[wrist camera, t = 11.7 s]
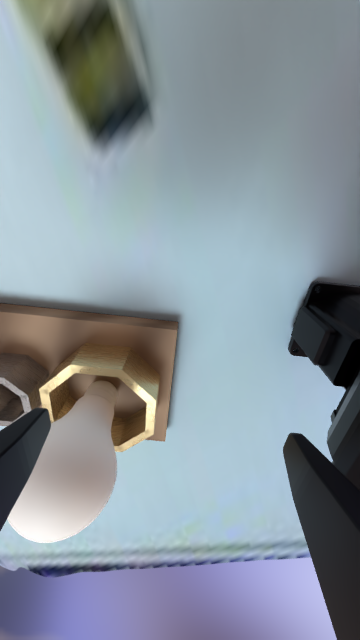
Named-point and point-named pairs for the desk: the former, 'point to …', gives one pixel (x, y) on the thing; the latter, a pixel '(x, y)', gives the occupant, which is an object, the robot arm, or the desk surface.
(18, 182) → the desk surface
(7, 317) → the walnut board
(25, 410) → the grey small collar
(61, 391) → the brass collar
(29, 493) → the lightbulb
